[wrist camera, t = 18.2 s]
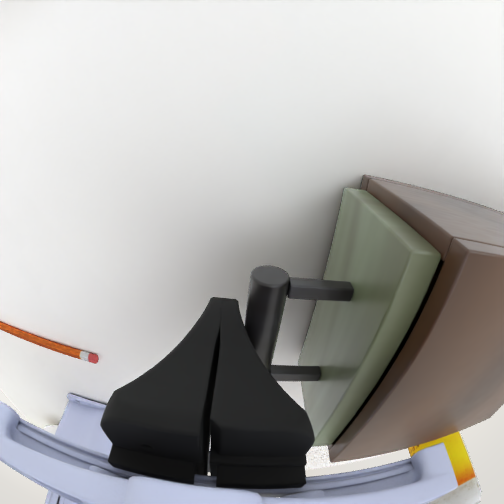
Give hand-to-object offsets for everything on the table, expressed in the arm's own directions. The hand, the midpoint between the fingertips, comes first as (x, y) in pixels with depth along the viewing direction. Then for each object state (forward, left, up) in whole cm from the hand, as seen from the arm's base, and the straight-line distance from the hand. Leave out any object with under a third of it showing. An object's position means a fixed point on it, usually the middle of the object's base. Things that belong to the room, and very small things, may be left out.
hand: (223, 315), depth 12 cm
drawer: (+9, 0, -2) cm, 9 cm away
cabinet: (+13, 0, -3) cm, 13 cm away
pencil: (-19, -9, -4) cm, 21 cm away
